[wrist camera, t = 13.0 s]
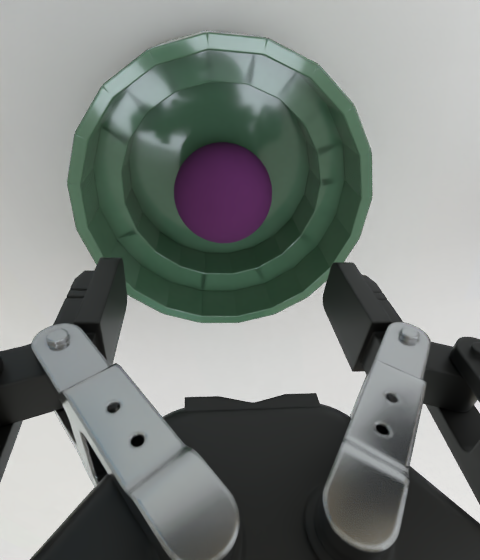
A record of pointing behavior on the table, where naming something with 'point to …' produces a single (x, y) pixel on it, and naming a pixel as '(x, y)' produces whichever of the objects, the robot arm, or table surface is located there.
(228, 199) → the ball
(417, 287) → the table surface
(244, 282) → the bowl
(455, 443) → the robot arm
